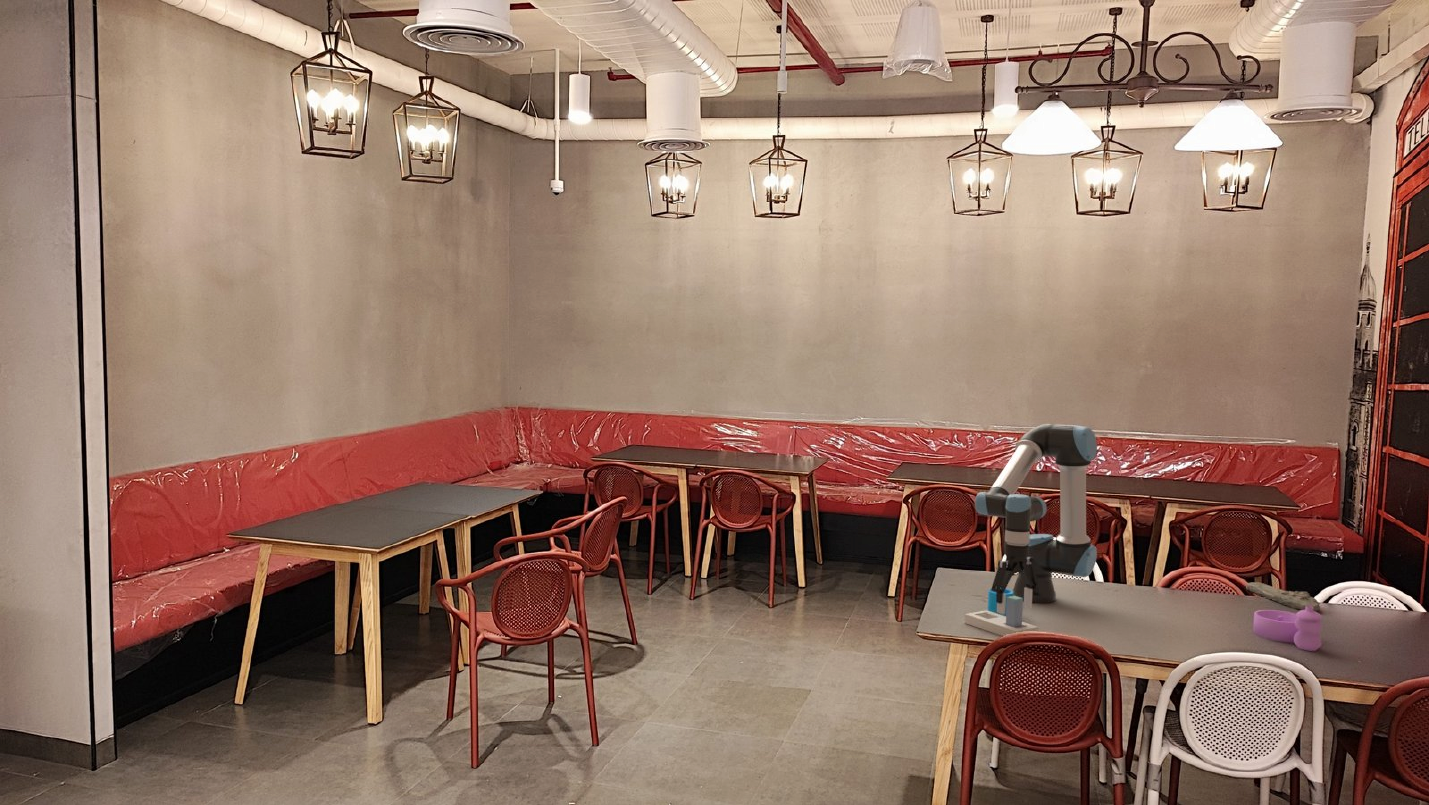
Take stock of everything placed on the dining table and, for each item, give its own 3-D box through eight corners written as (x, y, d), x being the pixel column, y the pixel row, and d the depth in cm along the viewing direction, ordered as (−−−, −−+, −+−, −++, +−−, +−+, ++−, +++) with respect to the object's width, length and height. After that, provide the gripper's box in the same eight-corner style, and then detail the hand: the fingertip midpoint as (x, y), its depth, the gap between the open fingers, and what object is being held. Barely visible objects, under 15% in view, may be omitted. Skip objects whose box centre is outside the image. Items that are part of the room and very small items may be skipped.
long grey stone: (1262, 592, 394) (1238, 594, 392) (1261, 578, 393) (1238, 580, 392) (1329, 611, 359) (1304, 614, 357) (1329, 596, 359) (1303, 599, 357)
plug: (1013, 631, 329) (1014, 595, 328) (1021, 634, 326) (1022, 598, 325) (1005, 633, 327) (1006, 597, 326) (1013, 636, 324) (1015, 599, 323)
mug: (1011, 619, 344) (1012, 595, 343) (986, 616, 346) (987, 592, 346) (1013, 610, 355) (1014, 587, 354) (989, 607, 358) (990, 584, 357)
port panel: (964, 623, 338) (964, 613, 337) (986, 619, 343) (986, 609, 343) (1015, 640, 319) (1016, 630, 319) (1037, 636, 324) (1038, 626, 324)
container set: (1243, 629, 337) (1245, 589, 336) (1287, 628, 338) (1289, 589, 337) (1291, 652, 312) (1293, 610, 311) (1338, 652, 313) (1341, 610, 312)
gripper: (1033, 538, 334) (1030, 603, 335) (981, 544, 321) (978, 612, 323) (1051, 542, 327) (1049, 608, 329) (999, 549, 315) (996, 618, 316)
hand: (1014, 610), depth 326 cm, fingers open, 11 cm apart
